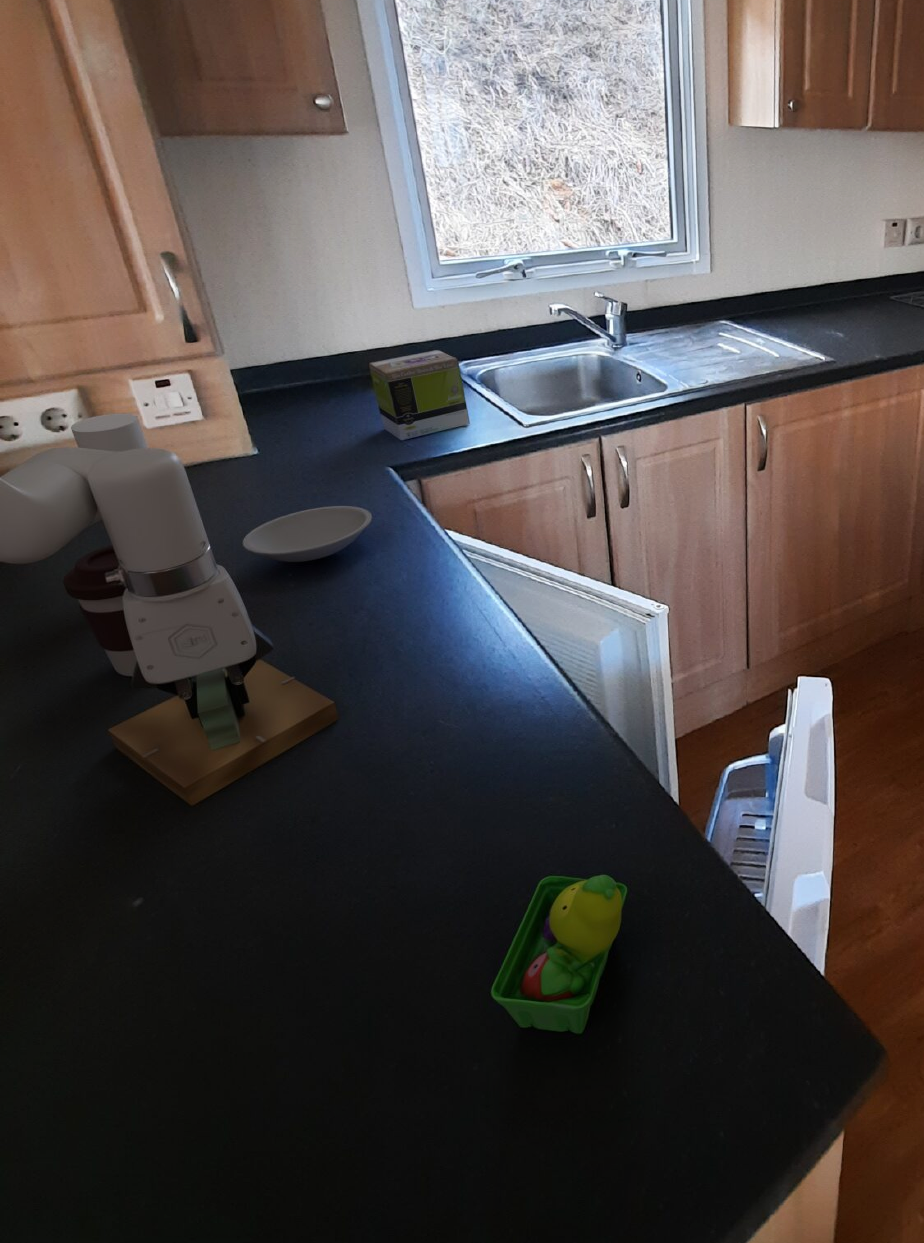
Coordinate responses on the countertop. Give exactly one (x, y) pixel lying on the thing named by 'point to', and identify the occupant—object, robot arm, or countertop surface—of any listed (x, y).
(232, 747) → the base
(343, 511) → the dish
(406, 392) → the tea box
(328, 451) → the countertop surface
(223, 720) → the green rectangular block
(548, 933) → the fruit basket
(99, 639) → the coffee cup
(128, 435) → the cylindrical container
